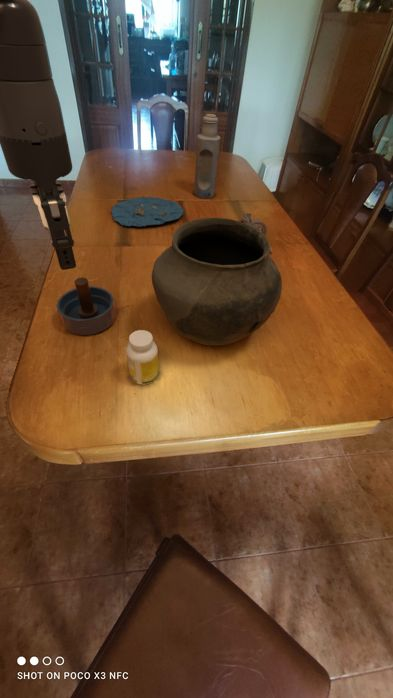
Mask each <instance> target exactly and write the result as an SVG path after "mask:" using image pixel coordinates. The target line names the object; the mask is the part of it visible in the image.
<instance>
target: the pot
mask: <svg viewBox="0 0 393 698" xmlns="http://www.w3.org/2000/svg"><path fill="white" fill-rule="evenodd" d="M259 230H260V229H259ZM259 230H258V229H256V228H254V227H252V226H250V225H247V224H244V223H243V221H242V222H241V221H238V220H236V219H231V218H224V217H201V218H196V219H191V220H190V221H186V222H185V223H183V224H182V225H180V226H178V228H176V230H175V231H174V233H173V234H172V237H171V245H169V246H168V247H167V248H166V249H164V250H163V251H162V253H161V254H160V255H158V257H157V258H156V259H155V261H154V263H153V267H152V271H151V283H152V287H153V291H154V294H155V297H156V300H157V301H158V303H159V305H160V307H161V309H162V312H163V314H164V315H165V317H166V318H167V320H168V321H169V323H170V325H171V326H172V328H173V330H175V331H176V332H177V334H179V335H180V336H182V337H183V338H185V339H188V340H190V341H192V342H195V343H198V344H200V345H206V346H224V345H230V344H233V343H236V342H240V341H241V340H242V339H245V338H246V337H249V336H250V335H252V334H254V333H255V332H257V330H259V329H260V328H261V327H262V326H264V325H265V323H266V322H267V321H268V320H269V318H270V317H271V316H272V315H273V313H275V310H276V308H277V307H278V303H279V302H280V299H281V295H282V289H283V281H282V275H281V271H280V269H279V268H278V266H277V264H276V262H275V261H274V260H273V259H272V258H271V256H270V254H269V252H270V246H271V245H270V241H269V240H268V238H267V236H265V235H264V234H263V233H261V232H262V231H259ZM269 245H270V246H269Z"/></svg>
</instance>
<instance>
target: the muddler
mask: <svg viewBox="0 0 393 698" xmlns="http://www.w3.org/2000/svg"><path fill="white" fill-rule="evenodd" d="M74 285H75V288H76V290H77V294H78V298H79V302H80V307H79V309H78V313H79V317H80V319H88V318H92V317H96V316H98V315H99V313H98V308H97V306H96V305H94V304H93V302H92V297H91V293H90V288H89V286H90V285H89V280H88V278H86V277H78V278H76V279H75V280H74Z"/></svg>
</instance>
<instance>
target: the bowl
mask: <svg viewBox="0 0 393 698" xmlns="http://www.w3.org/2000/svg"><path fill="white" fill-rule="evenodd" d="M89 288H90V293H91V297H92V302H93V304H94V305H96V306H97V308H98V313H99V315H98V316H96V317H92V318H88V319H80V317H79V313H78V309H79V307H80V302H79V298H78V294H77V290H76V287H75V288H72V289H70V290H68V291H66V292H64V294H62V295H61V296H60V297H59V298H58V300H57V302H56V310H57V313H58V316H59V319H60V323H61V325H62V327H63V328H64V329H65V330H66V331H68V332H70V333H72V334H74V335H78V336H92V335H93V336H94V335H97V334H100V333H102V332H105V331H106V330H107V329H108V328H110V327H111V326H112V325H114V322H115V320H116V319H117V310H116V303H115V298H114V296H113V294H112V293H111V292H110V291H109V290H107V289H105V288H103V287H100V286H94V285H89Z"/></svg>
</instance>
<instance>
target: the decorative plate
mask: <svg viewBox="0 0 393 698" xmlns="http://www.w3.org/2000/svg"><path fill="white" fill-rule="evenodd" d="M110 212H111V214H112V218H113V220H114V221H115V222H118V223H119V224H120V225H121V226H125V227H131V226H133V227H139V228H140V227H141V228H142V227H144V228H145V227H146V226H158V225H163V224H165V223H166V222H170V221H174V220H175V221H176V220H178V219H180V218H181V217H182V215H183V214H184V208H183V207H182V206H181V204H179V203H178V202H176V201H173V200H171V199H166V198H161V197H153V196H140V197H134V198H131V199H127V200H121V201H119V202H117V203H115V204H114V205H113V206H112V209H111V211H110Z"/></svg>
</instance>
